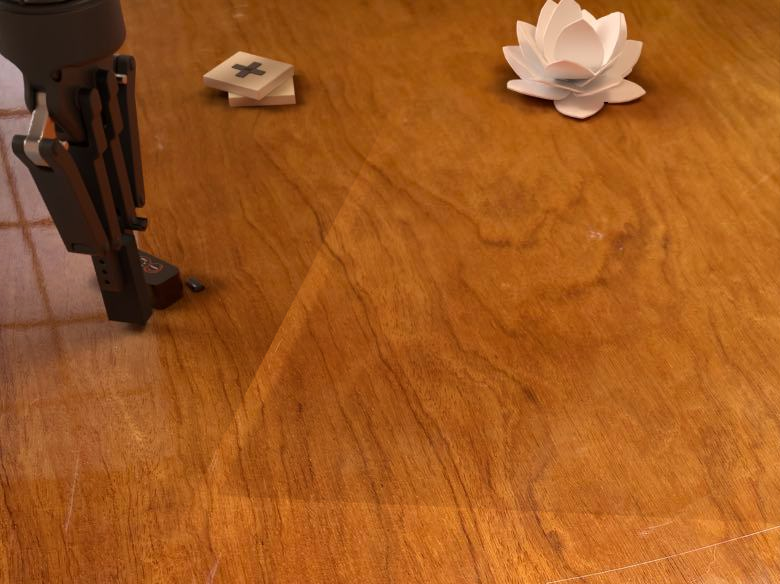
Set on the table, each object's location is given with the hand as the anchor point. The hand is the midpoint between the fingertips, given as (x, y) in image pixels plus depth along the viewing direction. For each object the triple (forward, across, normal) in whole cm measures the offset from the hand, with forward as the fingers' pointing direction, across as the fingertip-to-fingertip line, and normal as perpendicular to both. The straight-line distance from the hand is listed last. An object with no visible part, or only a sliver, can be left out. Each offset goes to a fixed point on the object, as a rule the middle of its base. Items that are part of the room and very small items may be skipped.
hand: (130, 316), depth 84 cm
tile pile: (+2, +37, +3) cm, 37 cm away
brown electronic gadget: (+2, +5, 0) cm, 5 cm away
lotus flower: (+2, +48, -26) cm, 55 cm away
